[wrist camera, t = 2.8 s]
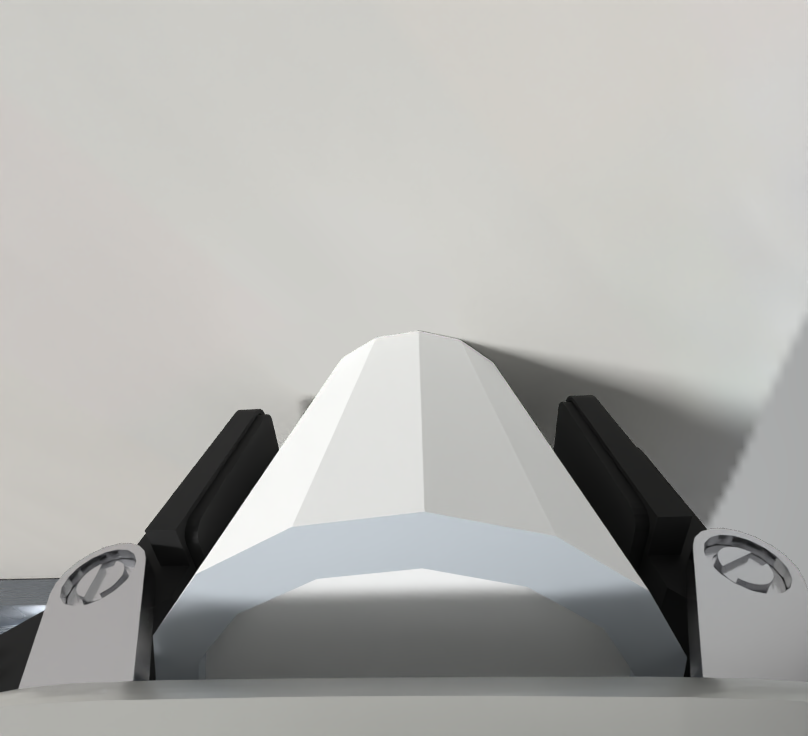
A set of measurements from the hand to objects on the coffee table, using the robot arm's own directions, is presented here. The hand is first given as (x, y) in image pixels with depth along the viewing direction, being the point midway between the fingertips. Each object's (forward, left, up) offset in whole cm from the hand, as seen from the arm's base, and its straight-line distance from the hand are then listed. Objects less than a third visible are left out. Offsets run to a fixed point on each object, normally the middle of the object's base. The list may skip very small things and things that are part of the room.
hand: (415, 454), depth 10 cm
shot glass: (0, 0, -2) cm, 2 cm away
